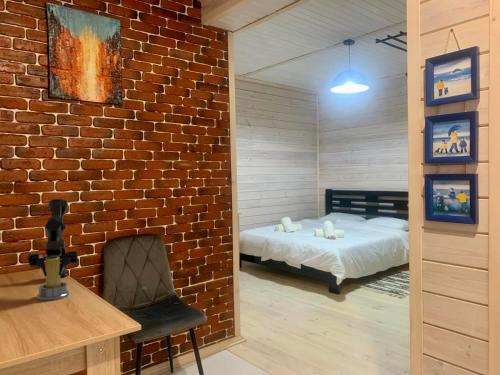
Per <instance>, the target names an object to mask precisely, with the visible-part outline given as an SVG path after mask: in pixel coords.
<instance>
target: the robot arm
mask: <svg viewBox="0 0 500 375" xmlns="http://www.w3.org/2000/svg"><path fill="white" fill-rule="evenodd" d="M48 209H49V210H50V213H51V214H50V217H49V218H48V219H47V222H46V223H45V224H44V232H46V237H47V240H46V244H45V245H46V246H45V255H43V254H40V253H39V252H36V253H29V254H28V255H27V261H28V266H29V267H35V266H36V267H37V268H40V269H41V270H42V274H43V275H44V276H43V277H45V278H46V262H45V260H46V258H47V257H52V256H59V257H60V278H61V279H62V278H66V277H69V274H66V273H67V271H66V268H67V266H69V265H70V264H73V263H74V264H75V263H77V262H78V260H79V258H78V256H79V255H78V251H77V250H68V251H67V250H66V247H65V239H63V238H64V237H63V236H64V235H63V234H64V231H66V228H67V226H66V223H65V222H64V216H65V214H66V213H67V209H68V200H66V199H63V198H52V199H51V200H48Z"/></svg>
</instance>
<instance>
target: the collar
mask: <svg viewBox="0 0 500 375" xmlns="http://www.w3.org/2000/svg"><path fill="white" fill-rule="evenodd" d="M45 285H46V283H43V284H41V285H39V286H38V294H37V295H36V300H38V301H45V302H49V301H51V302H52V301H58V300H61V299H64V298H67V297H69V295H70V291H69V290H68V286H67V285H68V283H66V282H62V281H61V286H60V287H55V288H45Z"/></svg>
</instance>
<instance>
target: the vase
mask: <svg viewBox="0 0 500 375" xmlns="http://www.w3.org/2000/svg"><path fill="white" fill-rule="evenodd" d="M45 269H46V277H45V284H46V285H45V288H55V287H60V286H61V282H62V280H61V279H62V278H60V257H59V256H52V257H47V258H46V260H45Z"/></svg>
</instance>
